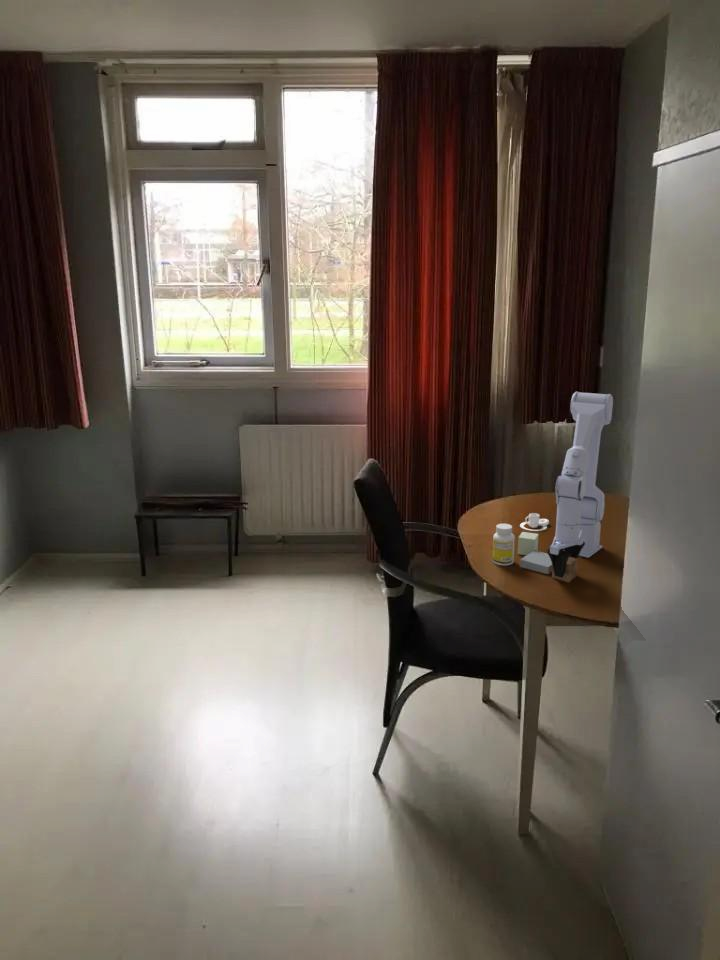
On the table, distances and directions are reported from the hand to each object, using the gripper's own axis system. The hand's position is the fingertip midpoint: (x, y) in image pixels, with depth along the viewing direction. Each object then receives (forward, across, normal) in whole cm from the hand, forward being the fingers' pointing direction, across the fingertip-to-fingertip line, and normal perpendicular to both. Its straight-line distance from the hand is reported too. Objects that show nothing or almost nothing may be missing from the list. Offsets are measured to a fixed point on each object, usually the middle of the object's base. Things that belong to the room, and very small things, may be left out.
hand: (564, 571), depth 195 cm
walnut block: (+2, 0, 0) cm, 2 cm away
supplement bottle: (+2, -1, +17) cm, 17 cm away
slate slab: (+2, +3, +8) cm, 9 cm away
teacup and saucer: (+2, +28, +20) cm, 35 cm away
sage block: (+2, +9, +15) cm, 18 cm away
